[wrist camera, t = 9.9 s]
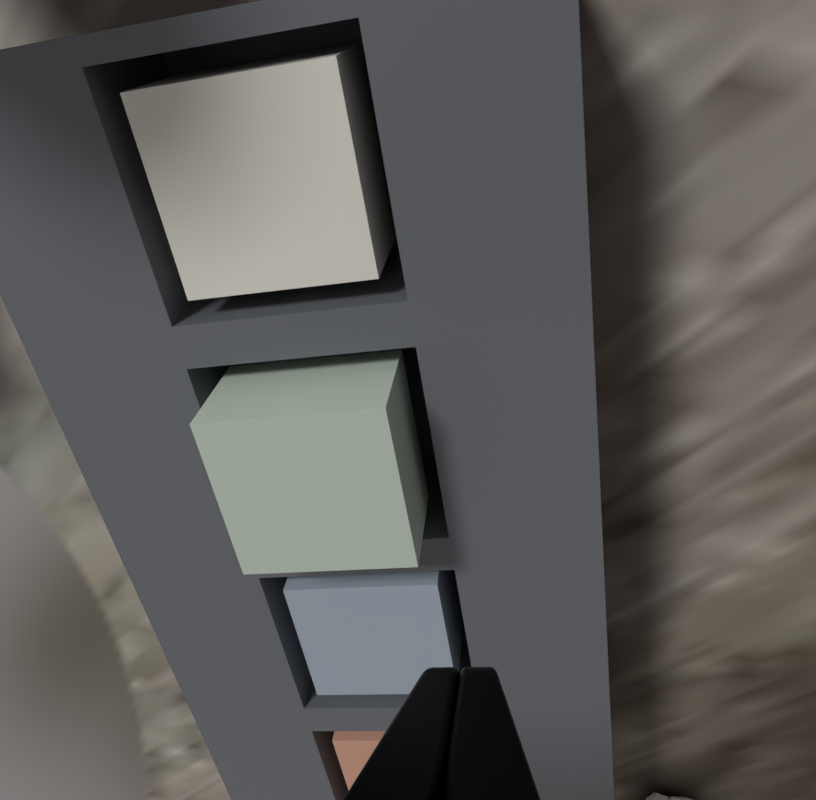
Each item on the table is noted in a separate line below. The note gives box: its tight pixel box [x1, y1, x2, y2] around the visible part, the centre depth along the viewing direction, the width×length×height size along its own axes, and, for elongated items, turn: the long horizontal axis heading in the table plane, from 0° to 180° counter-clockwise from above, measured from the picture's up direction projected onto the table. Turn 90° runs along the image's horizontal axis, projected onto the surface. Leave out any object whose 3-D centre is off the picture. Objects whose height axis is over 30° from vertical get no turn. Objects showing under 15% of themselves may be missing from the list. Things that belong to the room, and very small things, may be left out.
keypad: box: [0, 0, 614, 800], centre depth 20 cm, size 12×24×4 cm, turn 9°
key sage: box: [190, 350, 429, 575], centre depth 16 cm, size 4×4×2 cm
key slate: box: [283, 570, 463, 695], centre depth 21 cm, size 4×4×2 cm
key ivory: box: [120, 43, 395, 301], centre depth 15 cm, size 4×4×2 cm
